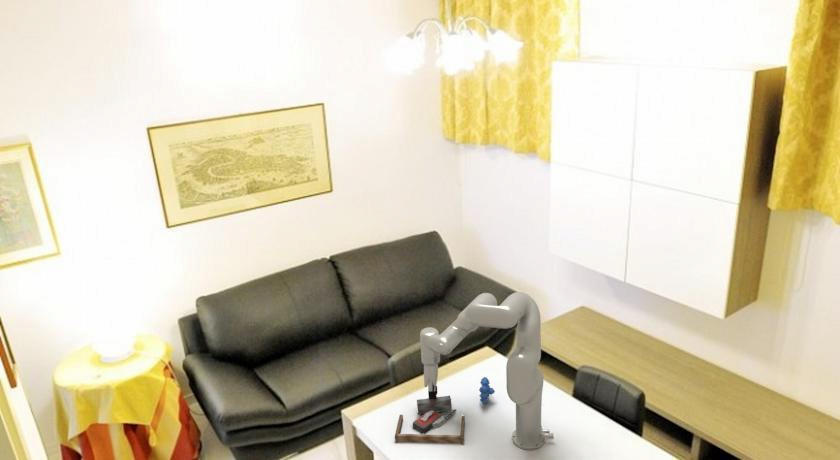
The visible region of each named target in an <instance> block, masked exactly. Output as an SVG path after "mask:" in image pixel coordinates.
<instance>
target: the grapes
mask: <svg viewBox="0 0 840 460" xmlns="http://www.w3.org/2000/svg"><path fill="white" fill-rule="evenodd" d="M479 383H480V384H481V386H480V387H479V389H478V391H479V392H480V394H479V397H480V400H479V401H480V403H481V404H483V405H485V404H487V403H489V401H490V400H489V399H488V398H489V397H490V395H493V394H495V392H496V391H495V389H494V388H493V387H491V385H490V379H489V378H488V377H486V376H484V377H483V378H481V380H480V382H479Z"/></svg>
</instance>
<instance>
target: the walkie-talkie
mask: <svg viewBox="0 0 840 460" xmlns="http://www.w3.org/2000/svg"><path fill="white" fill-rule="evenodd" d="M455 412H457V409H456V408H455V409H453V410H451V412H449V413H448V414H446V415H445V416H442V414H441V413H440V412H436V411H434V410H429V411H427V412H426V413H424V414H421V416H419V417H418V418H416V419H415V420H413V421H412V429H413V430H415V431H417V432H419V434H427V433H428V432H429V431H430V430H431V429H432V428H433V429H436V428H437V429H438V428H440V427H441V426H443V424H445V423H446V421H447V419H448V418H449V417H451V416H453V414H454V413H455Z"/></svg>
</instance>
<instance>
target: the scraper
mask: <svg viewBox="0 0 840 460" xmlns="http://www.w3.org/2000/svg"><path fill="white" fill-rule="evenodd" d="M432 388H434V387H432ZM435 390H436V387H435ZM416 405H417V406H416V407H417V415H423V414H424V413H426V412H427V411H429V410H434V411H436V412H437V413H440V412H446V411H453V410H452V409H453V407H452V405H453V404H452V399H451V395H444V396H437V399H429V397H427V398H419V399H416Z"/></svg>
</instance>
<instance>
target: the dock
mask: <svg viewBox="0 0 840 460" xmlns="http://www.w3.org/2000/svg"><path fill="white" fill-rule="evenodd" d="M403 422H404V415H403V414H399V417H398V421H397V425H396V428H395V429H396V430H395V433H394V442H395V443H411V444H412V443H415V444H447V445H450V444H451V445H453V444H454V445H464V442H465V441H464V438H465V427H466V418H465V415H461V421H460V430H459V435H456V434H453V435H452V434H427V433H424V434H421V433H401V432H402V429H403V428H402V427H403Z"/></svg>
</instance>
